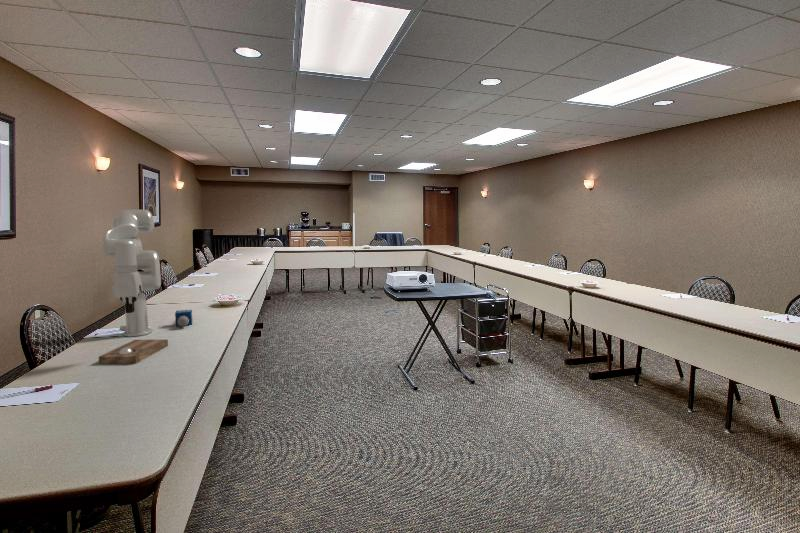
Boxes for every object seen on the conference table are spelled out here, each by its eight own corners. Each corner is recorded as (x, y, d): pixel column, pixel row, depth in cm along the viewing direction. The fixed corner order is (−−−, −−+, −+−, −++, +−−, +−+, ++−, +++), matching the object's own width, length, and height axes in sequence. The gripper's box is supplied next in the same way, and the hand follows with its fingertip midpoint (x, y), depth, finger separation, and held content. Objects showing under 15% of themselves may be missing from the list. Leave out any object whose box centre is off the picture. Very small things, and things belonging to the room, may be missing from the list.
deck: (99, 363, 173) (98, 356, 172) (135, 346, 197) (135, 339, 196) (136, 363, 173) (135, 356, 172) (168, 345, 197) (167, 339, 196)
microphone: (192, 305, 249) (190, 314, 227) (193, 318, 250) (191, 328, 227) (178, 306, 246) (173, 315, 224) (179, 319, 247) (174, 330, 224)
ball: (115, 360, 176) (116, 348, 175) (124, 357, 181) (124, 345, 180) (127, 361, 175) (127, 349, 175) (135, 358, 180) (136, 346, 180)
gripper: (102, 270, 175) (106, 314, 177) (139, 270, 175) (142, 314, 177) (114, 268, 183) (118, 310, 185) (149, 268, 183) (152, 310, 185)
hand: (130, 312), depth 181 cm, fingers closed
